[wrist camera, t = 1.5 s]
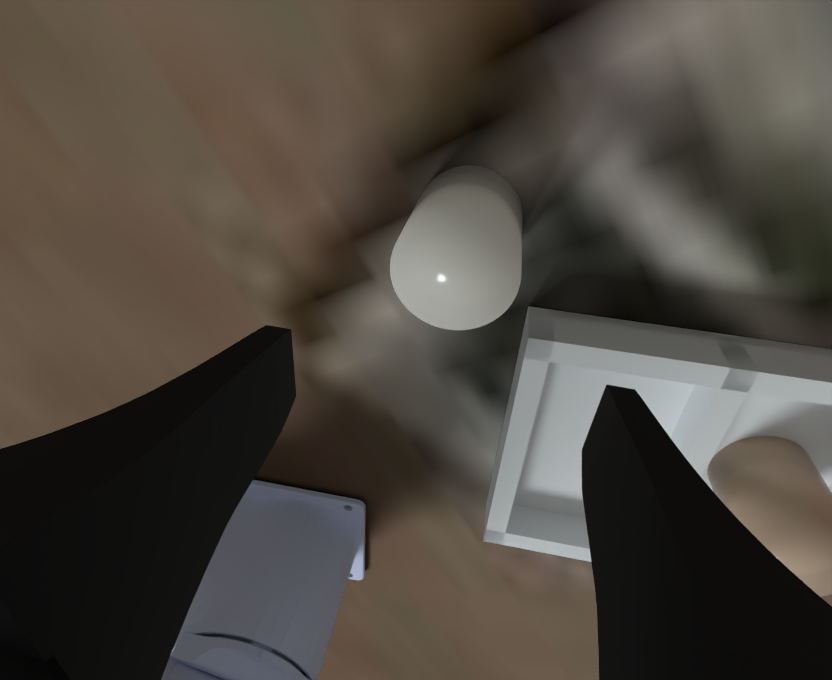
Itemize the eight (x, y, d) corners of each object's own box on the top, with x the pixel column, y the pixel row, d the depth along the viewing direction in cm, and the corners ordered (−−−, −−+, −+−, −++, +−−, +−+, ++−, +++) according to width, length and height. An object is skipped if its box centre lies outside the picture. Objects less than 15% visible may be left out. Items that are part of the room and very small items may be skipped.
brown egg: (693, 490, 26) (725, 586, 21) (728, 428, 23) (771, 522, 19) (784, 506, 25) (834, 607, 21) (828, 445, 23) (895, 544, 19)
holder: (486, 503, 30) (483, 541, 27) (528, 306, 22) (528, 337, 20) (784, 558, 28) (805, 603, 26) (936, 364, 20) (982, 405, 18)
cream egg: (413, 260, 22) (387, 320, 18) (420, 159, 20) (392, 202, 16) (512, 273, 22) (509, 338, 18) (531, 172, 19) (532, 219, 15)
